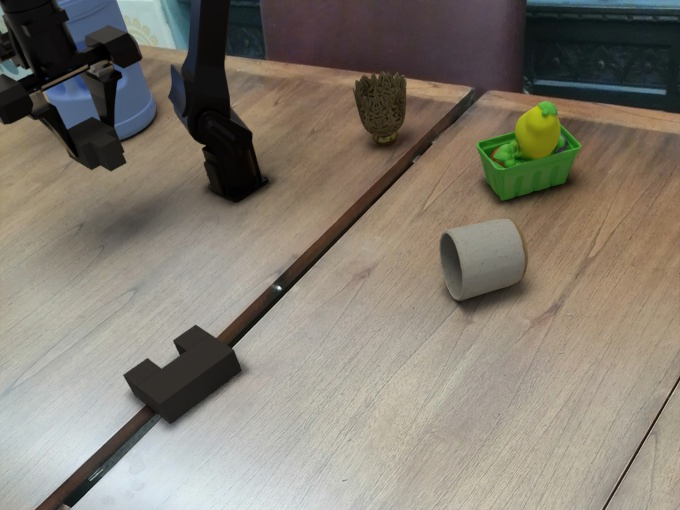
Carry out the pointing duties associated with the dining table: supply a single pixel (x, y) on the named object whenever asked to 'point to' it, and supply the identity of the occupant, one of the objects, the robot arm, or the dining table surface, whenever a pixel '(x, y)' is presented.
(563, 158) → the fruit basket
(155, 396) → the base pad
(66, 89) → the water jug
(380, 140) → the cup
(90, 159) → the black pad
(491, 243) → the ceramic mug
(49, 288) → the dining table surface
